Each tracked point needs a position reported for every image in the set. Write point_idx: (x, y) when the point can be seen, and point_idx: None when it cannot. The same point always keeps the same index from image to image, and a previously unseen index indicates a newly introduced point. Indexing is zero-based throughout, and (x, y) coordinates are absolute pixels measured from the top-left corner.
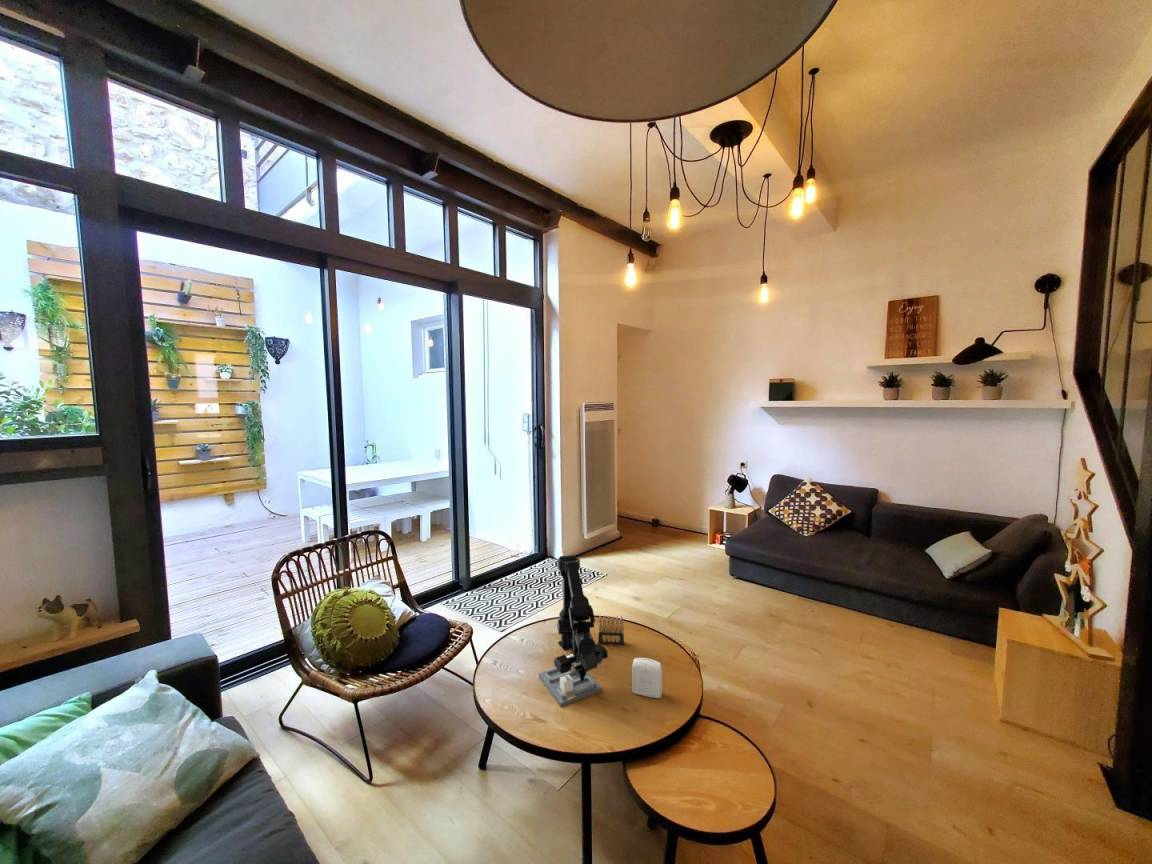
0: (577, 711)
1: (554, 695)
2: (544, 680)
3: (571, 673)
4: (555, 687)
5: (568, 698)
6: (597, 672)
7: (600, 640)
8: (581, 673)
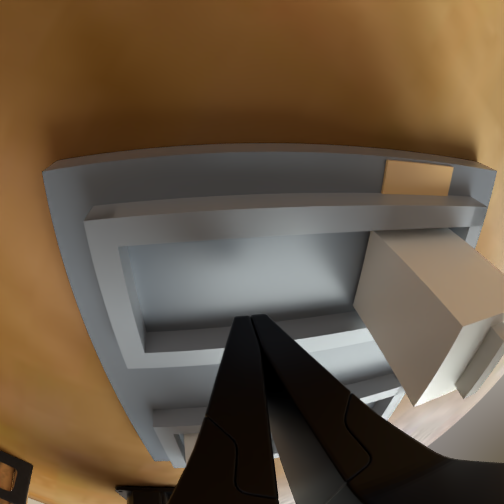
0: (424, 31)
1: None
2: None
3: None
4: None
5: (445, 180)
6: (42, 365)
7: (22, 474)
8: (323, 408)
